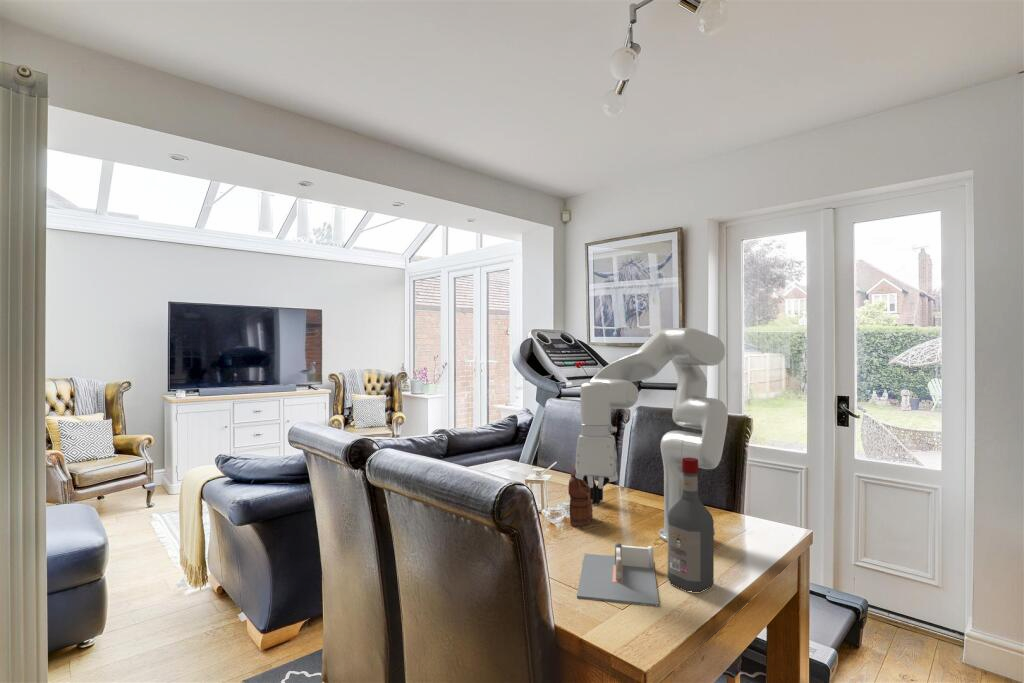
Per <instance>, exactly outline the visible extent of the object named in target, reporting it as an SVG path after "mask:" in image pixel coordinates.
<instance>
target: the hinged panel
mask: <svg viewBox="0 0 1024 683" xmlns="http://www.w3.org/2000/svg"><path fill="white" fill-rule="evenodd" d="M616 581H622V560H621V554H620V548H617V547H616Z"/></svg>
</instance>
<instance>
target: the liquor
mask: <svg viewBox="0 0 1024 683" xmlns="http://www.w3.org/2000/svg"><path fill="white" fill-rule="evenodd" d="M682 472H683V493H682V495H681V497H682V498H681V499H680V500H679V501H678V502H677V503H676V504H675V505H674V506H673V507H672V508H671V509H670V510H669V512H668V542H667V578H668V581H669V584H670V585H671V584H673V585H675V586H674V587H676V586H677V587H676V588H678V587H679V588H678V589H680V588H682V589H684V590H686V591H685V592H687V591H692V592H701V591H703V590H705V589H707V588H709V587H711V588H712V587H713V586H714V572H715V571H714V570H715V567H714V565H715V564H714V563H715V562H714V561H715V559H714V555H715V554H714V538H715V537H714V536H715V535H714V529H715V528H714V527H715V526H714V525H715V524H714V521H715V520H714V519H713V515H712V513H711V512H710V511H709V510H708V509H707V507H706V506H705V505H704V504H703V502H702V501H701V500H700V496H699V490H698V487H699V480H698V478H699V477H698V476H699V468H698V459H696V458H682ZM673 585H672V586H673ZM682 589H681V590H682ZM709 589H710V588H709ZM684 590H683V591H684ZM707 590H708V589H707ZM705 591H706V590H705ZM703 592H704V591H703ZM701 593H702V592H701Z"/></svg>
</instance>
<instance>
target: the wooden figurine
mask: <svg viewBox="0 0 1024 683" xmlns="http://www.w3.org/2000/svg"><path fill="white" fill-rule="evenodd" d="M575 474H576V466H574V467H573V468H572V470H571V473H570V479H569V480H568V485H567V486H568V488H567V489H568V490H567V491H568V496H569V498H570V499H569V523H570V526H573V527H585V526H588V525H590V524H591V521H592V520H593V511H594V510H593V502H592V501H591V499H590V487H589V485H588V484H587V483H586V482H585V481H584V480H581V479H578V478H576V477H575Z"/></svg>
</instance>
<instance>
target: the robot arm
mask: <svg viewBox="0 0 1024 683" xmlns="http://www.w3.org/2000/svg"><path fill="white" fill-rule="evenodd" d="M725 355H726V347H725V345H724V343H723V341H722V340H721V339H720V338H719V337H718V336H715V335H713V334H710V333H707V332H705V331H702V330H700V329H696V328H693V327H666V328H662V329H659V330H657V331H656V332H655V333H653V335H651V336H650V337H649V339H647V340H646V341H645V342H644V343H643V344H642V345H641V346H639V348H637V350H636V351H634V352H632V353H631V354H628V355H626V356H623V357H622V358H620V359H617V360H615V361H613V362H611V363H608V364H607V365H606V366H604V367H602V368H601V369H600V370H599V371H598V372H597V373H596V374H595V375H594V376H593V377H592V378H591V379H590V380H589V381H586V382H585V381H584V382H583V383H582V384H581V385H580V390H579V391H580V434H579V435H578V436H577V437H578V438H577V443H576V452H575V467H576V474H575V477H576V478H578V479H581V480H584V481H585V482H586V483H587V484H588V485H589V487H590V499H592V500H593V502H592V505H595V504H596V505H600V503H601V502H602V501H604V487H605V486H606V485H607V484H608V483H612V482H617V481H618V479H619V477H618V472H617V471H618V455H617V453H618V452H617V445H616V444H617V443H616V437H615V435H613V433H617V431H618V427H617V426H613V424H612V420H611V419H612V417H611V416H612V415H611V413H612V409H616V410H617V409H619V410H626V409H630V408H631V407H633V406H634V405H635V404H636V403H637V401H638V399H639V396H640V394H639V390H638V388H637V386H636V385H635V384H634V382H639V381H644V380H648V379H651V378H654V377H655V376H657V375H658V374H659V373H660V372H661V371H662V370H663V368H665V366H666V365H668V363H669V362H671V363H672V364H673V366H674V369H675V371H676V374H677V385H676V391H675V396H674V402H673V408H672V415H671V416H672V420H673V423H674V424H676V425H677V426H680V427H683V428H689V429H694V430H701V431H702V432H701V433H695V432H691V431H684V430H670V431H668V432H666V433H665V434H663V436H662V438H661V440H660V453H661V454H660V455H661V458H662V464H663V527H661V528H660V529H659V530H658V536H659V538H660V539H661V540H663V541H665V542H667V543H668V512H669V510H670V509H671V508H672V507H673V506H674V505H675V504H676V503H677V502H678V501H679V500H680V499H681V498H682V497H681V495H682V493H683V472H682V458H696V459H698V469H704V470H714V469H715V468H717V466H719V464H720V462H721V459H722V457H723V451H724V446H725V445H724V444H725V440H726V434H727V429H728V428H727V427H728V420H729V416H728V409H727V406H726V404H725V403H724V402H723V401H722V400H720V399H718V398H713V397H706V396H707V395H706V394H707V389H708V388H707V387H708V381H707V377H706V375H705V373H704V371H703V369H702V368H701V367H700V366H706V367H707V366H708V367H710V366H711V367H714V366H717V365H719V364H721V362H722V361H723V360H724V358H725ZM594 476H595V477H598V484H596V479H595V478H594ZM715 532H716V530H715V528H714V536H715V535H716V533H715Z"/></svg>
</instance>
